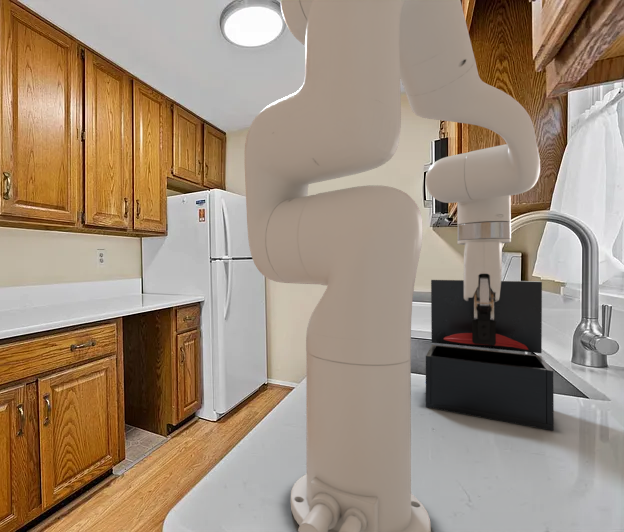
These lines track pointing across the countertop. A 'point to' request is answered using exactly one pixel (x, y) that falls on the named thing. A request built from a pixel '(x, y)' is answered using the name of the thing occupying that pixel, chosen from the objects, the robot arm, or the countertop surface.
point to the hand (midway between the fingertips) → (483, 341)
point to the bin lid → (507, 312)
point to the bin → (491, 385)
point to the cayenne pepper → (468, 340)
